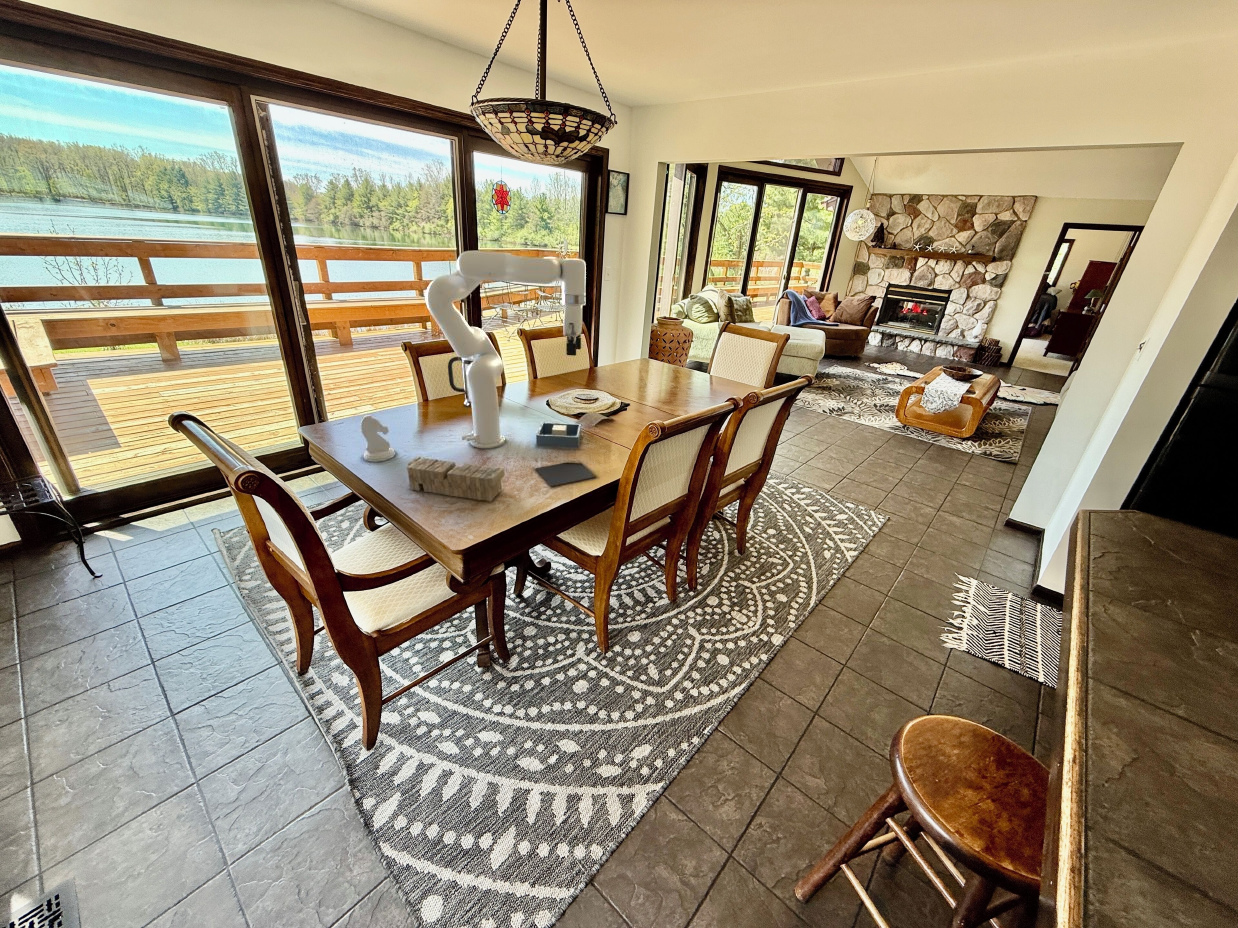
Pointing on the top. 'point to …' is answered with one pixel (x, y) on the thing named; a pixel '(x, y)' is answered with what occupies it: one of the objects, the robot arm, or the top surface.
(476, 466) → the block tower
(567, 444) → the bin
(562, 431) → the block
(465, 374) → the coffee press
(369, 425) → the chess piece
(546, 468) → the mat
